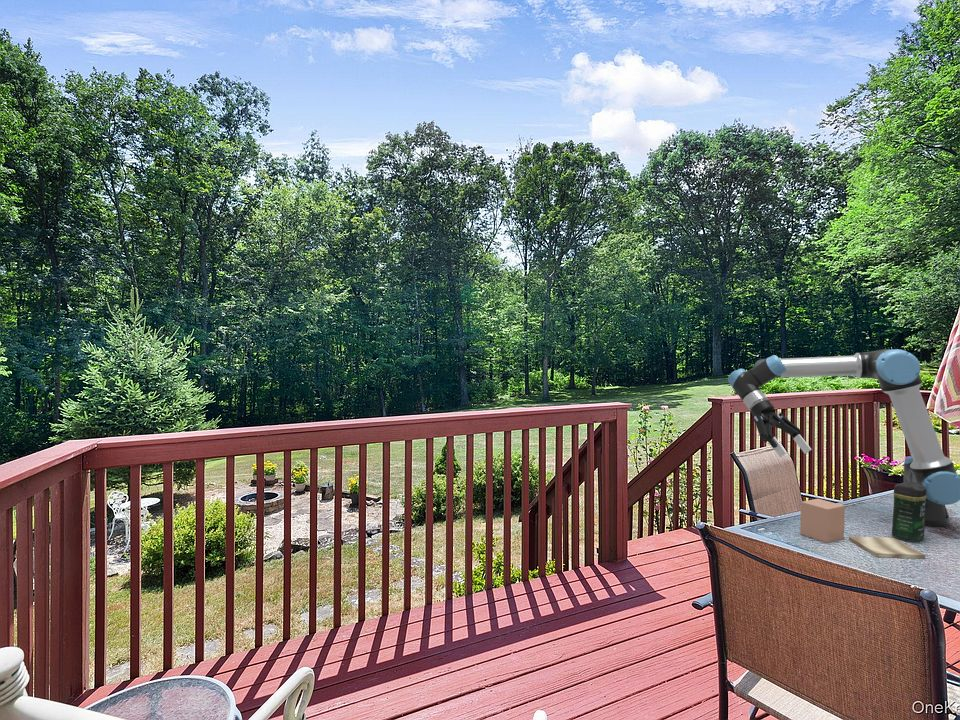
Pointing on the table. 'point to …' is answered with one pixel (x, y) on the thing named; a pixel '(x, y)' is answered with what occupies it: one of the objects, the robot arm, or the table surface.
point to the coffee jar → (909, 511)
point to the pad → (886, 547)
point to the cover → (822, 520)
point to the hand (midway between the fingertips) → (796, 453)
